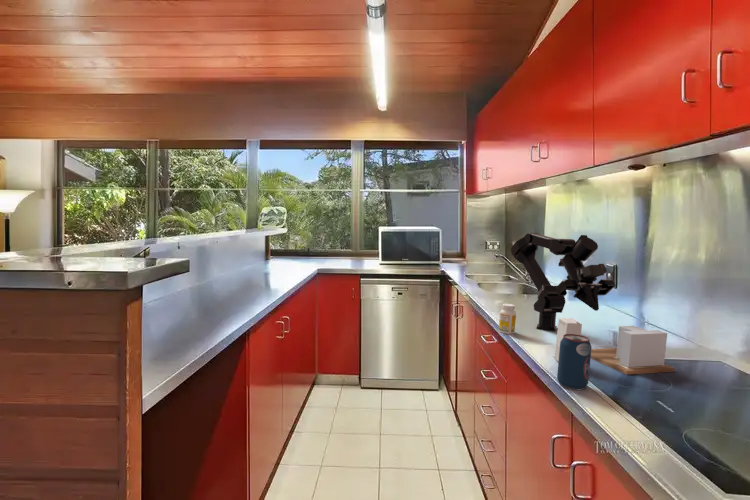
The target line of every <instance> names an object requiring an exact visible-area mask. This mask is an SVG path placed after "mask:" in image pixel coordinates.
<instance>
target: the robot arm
mask: <svg viewBox="0 0 750 500" xmlns="http://www.w3.org/2000/svg"><path fill="white" fill-rule="evenodd" d="M539 247H542V248H545V249H548V250H549V252H550V253H552V254H553V255H555V256H563V257H562V258H559V262H558V267H563V268H564V269H565V270H566V273H567V276H566V279H565V278H564V279H562V281H560V283H559V284H558V285H552V284H551V283H550V281H549V279H548V278H547V276H546V275H545V273H544V271H543V269H542V268H541V266H540V265H539V263H538V261H537V260H536V253H537V251H538V250H539ZM598 248H599V244H598V243H597V241H595V240H594V239H592V238H590V237H588V235H587V234H581V235H580V236H579V237H578V239H577V240H575V239H572V238H555V237H551V236H548V235H547V236H546V235H543V234H540V233H538V232H528V233H526V234H525V235H524V236H523V237H521V238H520V239H518V240H516V241H515V243H513V245H512V246H511V249H510V252H511V256H512V257H513V259H515V261H516V262H518V263H520V264H522V266H524V269H525V270H526V272H527V273H528V275H529V277H530V279H531V281H532V283H533V284H534V286H535V288H536V289H537V291H538V293H537V300H536V301H535V303H534V304H533V311H535V312H538V323H537V325H536V329H538V330H544V331H545V330H546V331H550V332H551V331H552V332H557V331H556V330H557V329H558V325H557V326H556V322H557V321H556V319H557V313H558V314H559V313H563V310H564V308H565V306H566V305H565V304H566V298H565V297H566V296H567V294H568V292H567V291H574V293H575V294H574V295H573V298H576V299H578V300H579V301H580V302H582V303H583V304H585V305H586V306H588V307H589V308H590V309H592V310H594V311H595V312H596V311H599V309H600V308H599V307H600V305H599V296H606V295H608V294H609V293H610V292H611V291H612V290H613V289H614V288H615V287H616V283H615V282H614V280H612V279H605V278H604V279H600V280H599V281H597V278H598V277H601V276H604V275H605V274H606V273H607V272H608V270H607V267H606V265H605V264H604V263H598V264H589V265H586V266H585V264H584V262H586V261H588V260H589V258H590V257H592V256H593V255H594V253H595V252H596V251H597V250H598ZM596 281H597V283H595V282H596Z"/></svg>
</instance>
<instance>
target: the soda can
mask: <svg viewBox="0 0 750 500" xmlns="http://www.w3.org/2000/svg"><path fill="white" fill-rule="evenodd" d="M591 349H592V344H591V342H590V338H589V337H587V336H585V335H582V334H581V335H576V334H565V335H564V336H563V339H562V340H561V342H560V351H559V362H558V361H557V362H558V364H557V365H558V366H557V373H556V374H557V375H556V378H557V381H558V383H559V385H560V386H561V387H564V388H566V389H568V390H572V389H583V390H584V389H585V388H586V387H587V386H588V384H589V377H590V370H591V369H590V367H591Z"/></svg>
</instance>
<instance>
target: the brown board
mask: <svg viewBox="0 0 750 500" xmlns="http://www.w3.org/2000/svg"><path fill="white" fill-rule="evenodd" d="M616 352H617V347H608V348H606V347H605V348H591V358H592V360H593V361H596V362H598V363H601V364H603V365H605V366H607V367H608V368H611V369H614V370H616V371H617V372H620V373H622V374H624V375H639V374H640V375H641V374H655V373H659V374H660V373H672V372H673V373H674V372H675V367H673V366H670V365H668V364H666V363H664V365H658V366H640V367H627V366H624V365H622V364H620V358H617V357H616ZM591 358H590V359H591Z"/></svg>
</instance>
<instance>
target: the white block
mask: <svg viewBox="0 0 750 500" xmlns="http://www.w3.org/2000/svg"><path fill="white" fill-rule="evenodd" d="M667 338H668V333H667V332H665V331H662V330H659V329H655V330H653V329H652V330H648V329H644V328H641V327H638V326H635V325H619V326H618V331H617V344H616V348H617V352H616V357H617V358H620V364H622V365H624V366H627V367H640V366H658V365H664V364H665V357H666V349H667V341H668V339H667Z"/></svg>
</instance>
